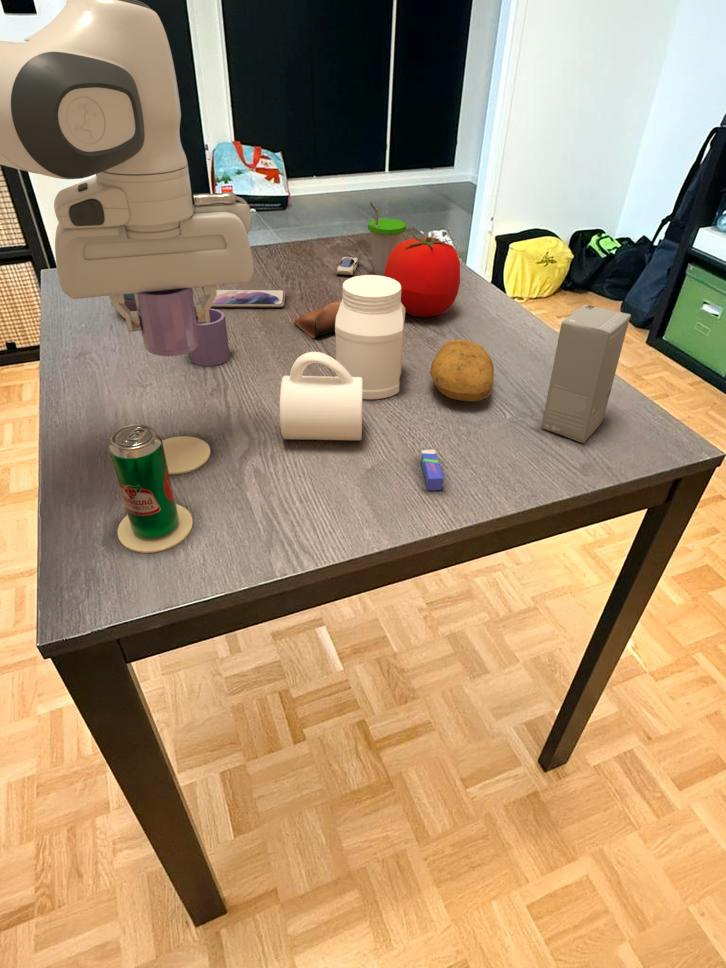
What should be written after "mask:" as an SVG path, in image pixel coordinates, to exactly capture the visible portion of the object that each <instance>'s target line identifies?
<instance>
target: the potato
mask: <svg viewBox="0 0 726 968" xmlns="http://www.w3.org/2000/svg"><path fill="white" fill-rule="evenodd" d="M494 367H495V366H494V363H493V360H492V357H490V355H489V354H488V352H487V350H485V348H484V346H482V345H480V344H479V343H476V342H474V341H471V340H467V339H454V340H453V339H452V340H450V341H448V342H446V343H443V344H442V345H441V346H440V348H439V350H438V351H437V353H436V355H435V357H434V358H433V360H432V362H431V364H430V370H429V375H430V377H431V379H432V381H433V384H434V385H435V387H436V388H437V390H438V391H439V393H441V394H442V395H444V396H445V397H447V398H449V399H450V400H457V401H461V402H479V401H482V400H483V399H485V398H489V396H490V394H491V392H492V388H493V384H494V375H495V374H494V373H495V368H494Z"/></svg>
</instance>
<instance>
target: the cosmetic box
mask: <svg viewBox="0 0 726 968" xmlns="http://www.w3.org/2000/svg"><path fill="white" fill-rule="evenodd" d="M631 316H632V315H631V313H626V312H622V311H617V310H612V309H608V308H603V307H600V306H599V307H598V306H595V305H591V304H590V305H589V304H584V305H582V306H581V307H579V308H578V309H575V310H572V311H571V313H570V315H569V316H567V317H566V318H565V319H563V320H562V321H561V323H560V327H559V333H558V338H557V344H556V349H555V353H554V354H555V355H554V361H553V365H552V370H551V376H550V380H549V381H550V382H549V386H548V391H547V397H546V401H545V402H546V403H545V407H544V411H543V417H542V420H541V421H542V422H541V429H544V430H546V431H548V432H551V433H555V434H558V435H561V436H563V437H566V438H569V439H571V440H574V441H576V442H578V443H581V444H584V443H585V442H586V441H587V440H588V439H589V438H590V437H591V436H592V435H593V434H594V432H596V430H597V429H598V427H600V425H601V424H602V423H603V421H604V419H605V414H606V410H607V407H608V404H609V403H608V402H609V400H610V395H611V392H612V387H613V384H614V380H615V376H616V372H617V368H618V365H619V361H620V357H621V353H622V350H623V345H624V341H625V337H626V334H627V331H628V327H629V323H630V319H631Z"/></svg>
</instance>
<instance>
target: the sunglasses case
mask: <svg viewBox="0 0 726 968" xmlns="http://www.w3.org/2000/svg"><path fill="white" fill-rule="evenodd" d="M341 301H342V299H338V300H337V301H332V302H329V303H328V304H327V305H326V306H323V307H320V308H317V309H314V310H312V311H311V310H310V311H309V312H307V313H305V314H302V315H301V316H299V317H297V318H295V320H294V324H295V325H296V327H298V328H299V329H300V331H302V332H303V333H304V334H306V336H308V337H310V338H312V339H315V338H317V337H318V336H324V335H326V334H329V333H332V332H335V321H336V315H337V313H338V310H339V307H340V304H341Z"/></svg>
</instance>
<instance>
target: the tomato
mask: <svg viewBox="0 0 726 968" xmlns="http://www.w3.org/2000/svg"><path fill="white" fill-rule="evenodd" d="M450 241H452V239H449V240H440V239H439V238H437V237H432V236H426V237H423V238H420V237H414V238H408V239H405V240H402V242H401V243H399V244H398V245H396V246H395V247H394V248H393V250H392V251H391V253H390V255H389V257H388V260H387V263H386V265H385V273H384V276H385V277H389V278H392V279H394V280H396V281H398V282H399V283H400V285H401V303H402V305H403V306H404V307H405V313H407V314H409V315H410V316H412V317H420V318H430V317H434V316H438V315H443V314H445V313H446V312H448V310H450V309H451V307H452V306H453V304H454V303H455V301H456V298H457V296H458V293H459V291H460V290H459V289H460V285H461V261H460V258H459V255H458V252H457V250H456V249H455V247H454V246H453V245H451V244H449V243H448V242H450Z"/></svg>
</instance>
